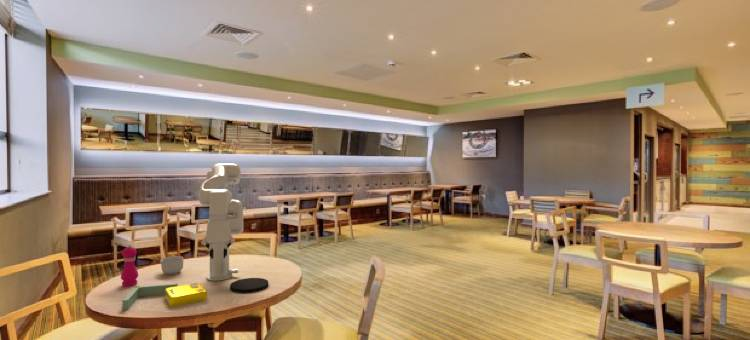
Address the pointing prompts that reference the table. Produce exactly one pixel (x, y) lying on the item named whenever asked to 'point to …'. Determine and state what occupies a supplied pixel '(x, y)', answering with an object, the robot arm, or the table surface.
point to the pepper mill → (129, 267)
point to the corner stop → (144, 293)
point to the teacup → (172, 264)
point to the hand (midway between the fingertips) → (218, 257)
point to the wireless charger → (249, 285)
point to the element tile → (185, 294)
